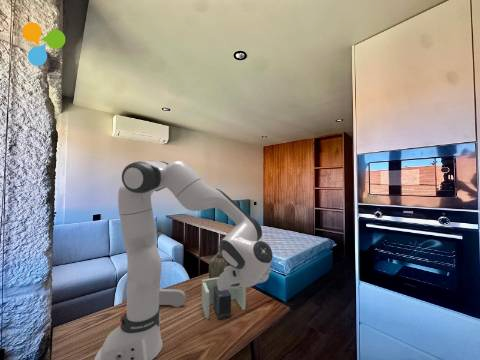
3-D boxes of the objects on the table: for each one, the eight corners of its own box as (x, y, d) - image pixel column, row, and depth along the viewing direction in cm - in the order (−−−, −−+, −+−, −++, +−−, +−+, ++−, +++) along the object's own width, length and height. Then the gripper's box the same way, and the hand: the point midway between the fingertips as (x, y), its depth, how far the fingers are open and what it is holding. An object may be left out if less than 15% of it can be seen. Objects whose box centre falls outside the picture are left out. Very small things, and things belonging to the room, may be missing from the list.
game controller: (185, 304, 105) (186, 288, 105) (184, 307, 103) (184, 291, 103) (148, 303, 106) (149, 287, 106) (146, 306, 103) (146, 290, 103)
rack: (205, 318, 95) (206, 291, 95) (201, 304, 105) (201, 279, 106) (245, 309, 102) (245, 283, 102) (237, 297, 113) (237, 274, 113)
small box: (231, 316, 96) (232, 294, 96) (218, 319, 94) (218, 297, 94) (225, 304, 106) (225, 284, 106) (213, 306, 104) (213, 286, 104)
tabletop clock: (222, 292, 117) (222, 249, 118) (207, 289, 120) (208, 247, 120) (230, 280, 131) (230, 241, 132) (217, 278, 134) (217, 240, 134)
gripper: (270, 260, 80) (258, 274, 89) (220, 267, 72) (213, 282, 81) (276, 276, 76) (263, 289, 85) (224, 286, 68) (216, 300, 77)
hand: (238, 286), depth 83 cm, fingers closed
